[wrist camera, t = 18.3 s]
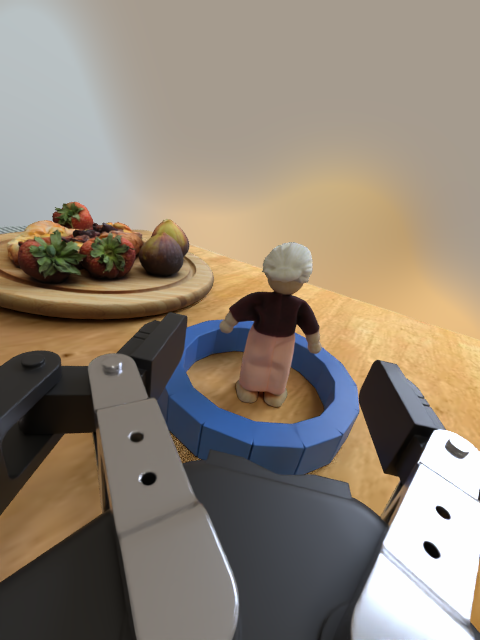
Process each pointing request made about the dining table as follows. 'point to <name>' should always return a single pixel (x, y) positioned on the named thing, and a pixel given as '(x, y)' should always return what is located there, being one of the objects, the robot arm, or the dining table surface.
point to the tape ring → (260, 437)
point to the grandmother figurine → (274, 325)
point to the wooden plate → (98, 269)
